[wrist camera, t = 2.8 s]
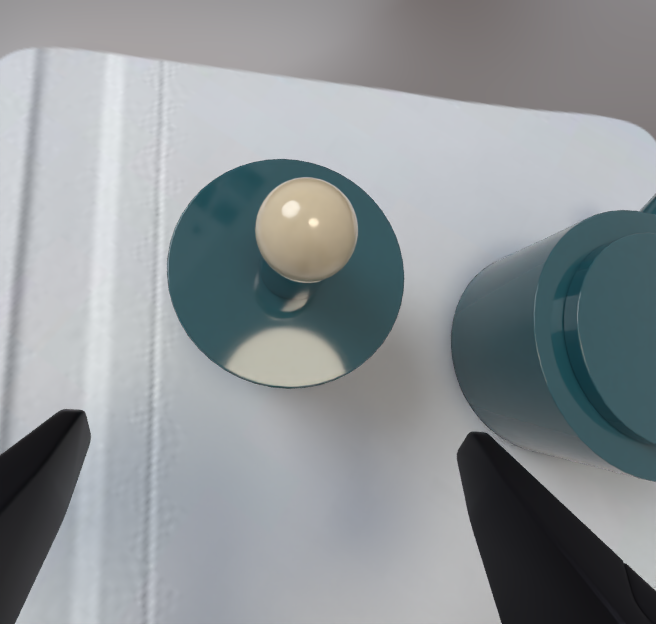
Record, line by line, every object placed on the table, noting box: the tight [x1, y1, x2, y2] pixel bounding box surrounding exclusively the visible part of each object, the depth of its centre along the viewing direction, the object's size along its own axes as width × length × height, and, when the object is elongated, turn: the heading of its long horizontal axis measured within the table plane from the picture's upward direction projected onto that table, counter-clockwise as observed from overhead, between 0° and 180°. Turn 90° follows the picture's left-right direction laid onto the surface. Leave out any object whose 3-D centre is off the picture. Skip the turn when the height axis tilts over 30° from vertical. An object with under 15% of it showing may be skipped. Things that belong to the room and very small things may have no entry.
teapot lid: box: [167, 159, 404, 389], centre depth 12 cm, size 9×9×6 cm
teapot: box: [451, 194, 656, 482], centre depth 22 cm, size 18×17×8 cm
